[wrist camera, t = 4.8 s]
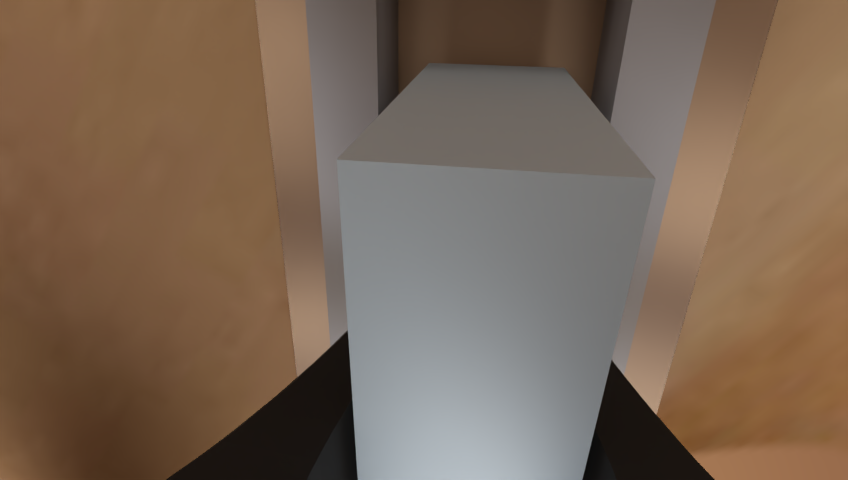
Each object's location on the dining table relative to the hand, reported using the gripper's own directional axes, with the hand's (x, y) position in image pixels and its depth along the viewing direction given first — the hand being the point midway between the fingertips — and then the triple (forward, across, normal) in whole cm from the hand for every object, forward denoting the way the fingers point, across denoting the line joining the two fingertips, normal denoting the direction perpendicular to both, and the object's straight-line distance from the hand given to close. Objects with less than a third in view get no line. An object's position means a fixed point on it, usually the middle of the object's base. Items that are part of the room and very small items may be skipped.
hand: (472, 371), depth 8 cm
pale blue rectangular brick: (+3, 0, 0) cm, 3 cm away
